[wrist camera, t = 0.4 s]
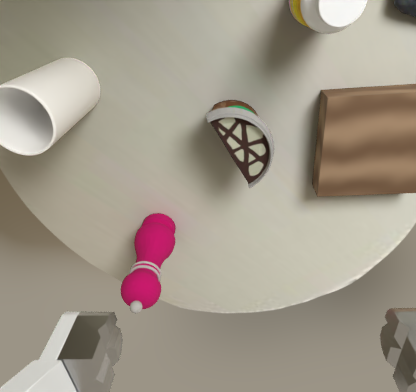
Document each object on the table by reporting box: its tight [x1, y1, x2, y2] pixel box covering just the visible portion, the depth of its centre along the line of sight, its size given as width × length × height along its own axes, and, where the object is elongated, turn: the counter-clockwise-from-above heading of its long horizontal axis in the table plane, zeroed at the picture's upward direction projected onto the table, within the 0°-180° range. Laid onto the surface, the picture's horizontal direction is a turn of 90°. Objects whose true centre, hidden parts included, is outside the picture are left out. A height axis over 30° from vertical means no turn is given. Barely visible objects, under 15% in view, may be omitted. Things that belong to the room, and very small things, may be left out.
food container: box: [206, 100, 274, 188], centre depth 49 cm, size 12×6×10 cm, turn 31°
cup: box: [0, 57, 101, 156], centre depth 45 cm, size 8×8×16 cm
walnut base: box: [312, 84, 416, 197], centre depth 52 cm, size 16×16×4 cm
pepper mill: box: [121, 213, 175, 313], centre depth 56 cm, size 7×7×20 cm
